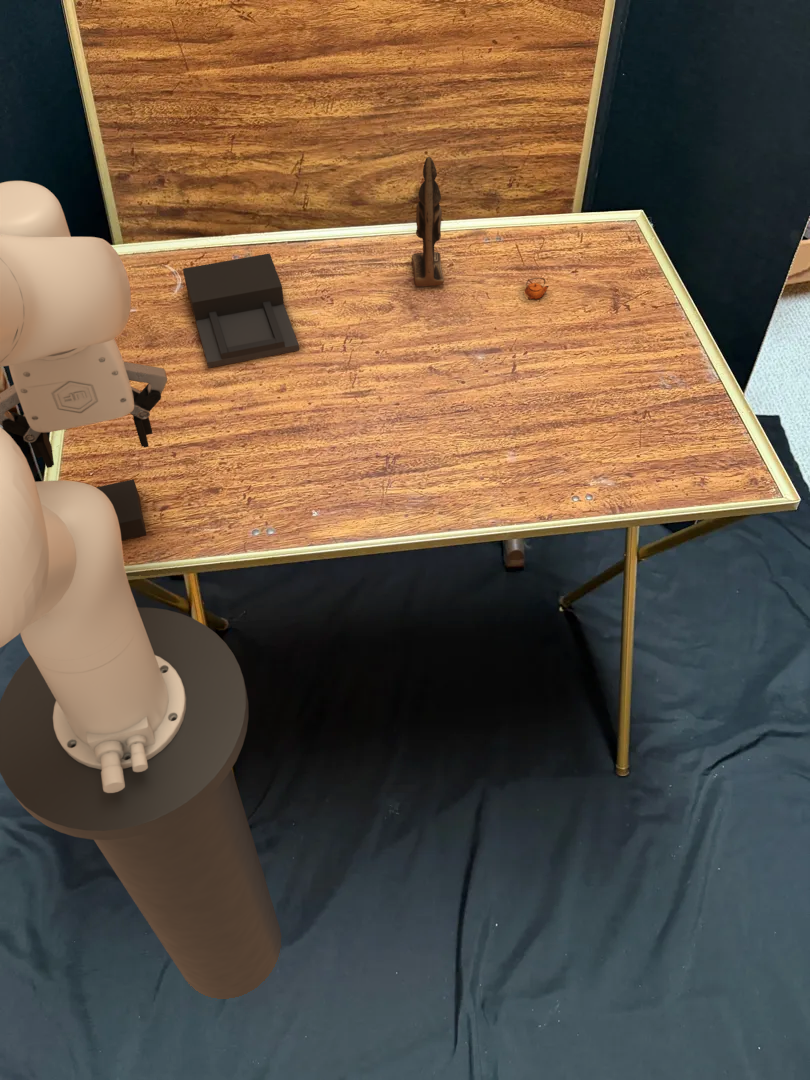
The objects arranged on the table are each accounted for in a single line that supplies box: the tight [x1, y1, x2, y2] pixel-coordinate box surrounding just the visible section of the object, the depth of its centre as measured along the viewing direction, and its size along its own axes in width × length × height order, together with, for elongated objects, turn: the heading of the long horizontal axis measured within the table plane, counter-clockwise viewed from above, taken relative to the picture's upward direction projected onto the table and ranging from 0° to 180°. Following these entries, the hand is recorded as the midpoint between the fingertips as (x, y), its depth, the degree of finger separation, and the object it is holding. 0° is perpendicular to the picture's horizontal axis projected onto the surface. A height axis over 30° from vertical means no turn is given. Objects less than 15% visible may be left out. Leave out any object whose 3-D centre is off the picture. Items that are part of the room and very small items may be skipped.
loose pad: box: [95, 479, 147, 541], centre depth 108 cm, size 6×5×3 cm
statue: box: [411, 156, 445, 287], centre depth 129 cm, size 4×7×20 cm, turn 5°
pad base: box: [182, 253, 300, 369], centre depth 129 cm, size 16×12×4 cm
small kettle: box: [523, 277, 550, 301], centre depth 134 cm, size 3×3×3 cm
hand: (97, 447), depth 101 cm, fingers open, 9 cm apart
